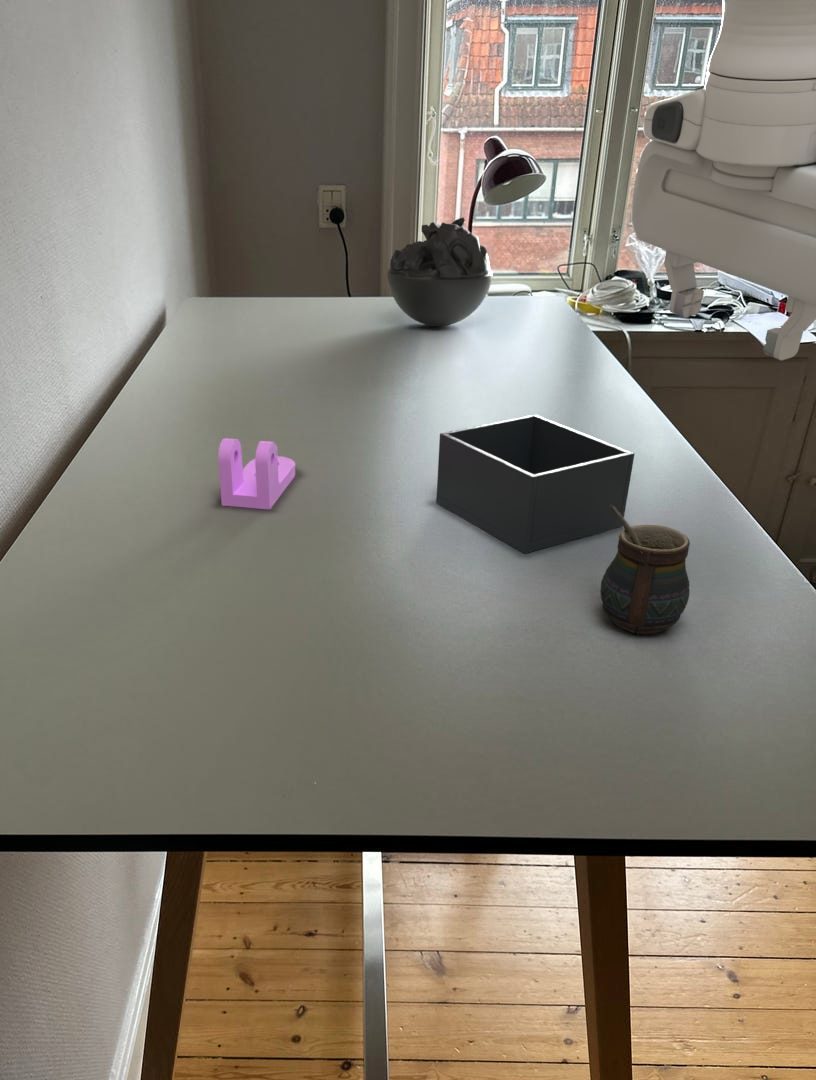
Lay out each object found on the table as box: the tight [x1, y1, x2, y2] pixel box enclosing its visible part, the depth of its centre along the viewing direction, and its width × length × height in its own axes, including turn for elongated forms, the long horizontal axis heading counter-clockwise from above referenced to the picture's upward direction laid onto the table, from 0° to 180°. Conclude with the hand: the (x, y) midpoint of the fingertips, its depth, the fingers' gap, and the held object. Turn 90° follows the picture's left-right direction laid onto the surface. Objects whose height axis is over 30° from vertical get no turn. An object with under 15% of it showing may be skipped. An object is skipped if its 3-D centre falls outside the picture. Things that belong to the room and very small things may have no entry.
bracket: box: [217, 437, 296, 510], centre depth 105 cm, size 13×6×7 cm, turn 167°
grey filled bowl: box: [387, 217, 494, 327], centre depth 175 cm, size 20×20×19 cm
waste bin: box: [435, 414, 635, 554], centre depth 97 cm, size 13×15×8 cm
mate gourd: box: [600, 504, 691, 636], centre depth 76 cm, size 7×8×10 cm
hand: (729, 333), depth 67 cm, fingers open, 8 cm apart
